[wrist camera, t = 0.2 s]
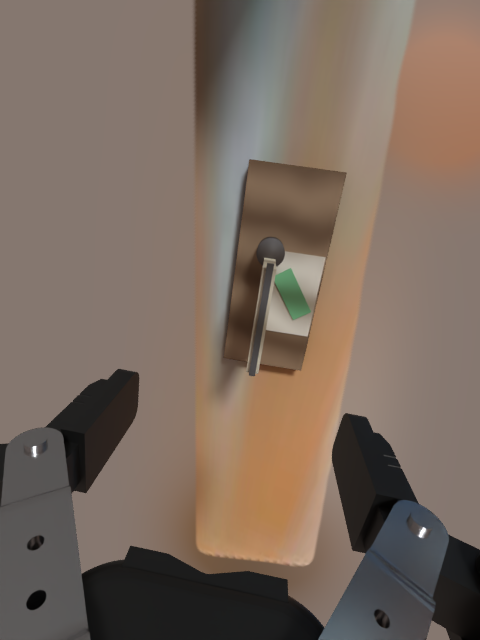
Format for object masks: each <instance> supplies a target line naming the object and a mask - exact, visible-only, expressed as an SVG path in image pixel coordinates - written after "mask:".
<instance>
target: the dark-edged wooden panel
mask: <svg viewBox="0 0 480 640" xmlns="http://www.w3.org/2000/svg"><path fill="white" fill-rule="evenodd" d="M256 256H257V259H258V261H259V263H260V264H261V265H263V267H262V274H261V280H260V286H259V292H258V298H257V305H256V311H255V317H254V323H253V330H252V336H251V342H250V349H249V356H248V363H247V369H246V372H249V375H250V376H255V373H256V374H258V371H259V366H260V360H261V354H262V349H263V343H264V337H265V332H266V326H267V320H268V315H269V309H270V303H271V298H272V292H273V286H274V281H275V275H276V266H278V265H280V264H281V263H282V261H283V260H284V257H285V250H284V246H283V244H282V242H281V241H280V240H279V239H278V238H276V237H266V238H264V239H263V240H261V242H260V243H259V245H258V248H257V252H256Z"/></svg>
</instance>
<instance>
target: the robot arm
mask: <svg viewBox="0 0 480 640" xmlns="http://www.w3.org/2000/svg"><path fill="white" fill-rule="evenodd" d="M138 391H139V374H138V373H137V372H132V371H127V370H122V369H118V370H116V371H115V372H114V373H113V375H112V376H111V377H110V378H109V379H108V380H104V379H100V380H98V381H96V382H94V383H92V384H90V385H88V387H87V388H85V389H84V390H83V391H82V392H81V393H80V395H78V396H77V397H76V398H75V399H74V400H73V402H71V403H70V404H69V405H68V406H67V407H66V408H65V409H64V410H63V411H62V412H61V413H60V414H59V415H58V416H56V417H55V418H54V419H53V420H52V421H51V423H49V424H48V425H47V426H46V427H44V428H36V429H32V430H29V431H26V432H23V433H21V434H20V435H18V436H16V437H15V438H14V439H13V440H12V441H11V442H10V443H9V444H0V640H426V639H427V635H428V632H429V628H430V624H431V621H434V622H436V623H437V624H439V625H441V626H443V627H444V628H446V630H447V633H448V635H449V638H450V640H480V550H479V549H477V548H475V547H473V546H471V545H469V544H467V543H464V542H462V541H460V540H458V539H456V538H454V537H452V536H450V535H448V533H447V530H446V528H445V526H444V525H443V523H442V522H441V521H440V520H439V518H438V517H436V516H435V515H434V514H433V513H432V512H431V511H430V510H428V509H427V508H425V507H424V506H422V505H420V504H419V503H418V501H417V499H416V497H415V495H414V493H413V491H412V489H411V487H410V485H409V483H408V481H407V479H406V477H405V475H404V472H403V471H402V469H400V464H399V462H398V460H397V459H396V456H395V455H394V452H393V450H392V448H391V446H390V444H389V443H388V442H387V441H386V440H385V439H384V438H383V437H382V436H381V435H380V434H379V433H373V430H372V428H371V426H370V423H369V421H368V419H367V418H366V417H362V416H358V415H352V414H347V413H346V414H344V416H343V418H342V421H341V424H340V427H339V430H338V433H337V436H336V439H335V442H334V445H333V449H332V463H333V467H334V471H335V476H336V480H337V485H338V489H339V494H340V498H341V502H342V507H343V511H344V515H345V520H346V524H347V529H348V533H349V538H350V542H351V546H352V550H353V551H358V552H362V553H366V554H365V556H364V558H363V560H362V561H361V563H360V565H359V567H358V569H357V570H356V572H355V574H354V576H353V578H352V579H351V581H350V583H349V585H348V587H347V589H346V590H345V592H344V594H343V596H342V598H341V599H340V601H339V603H338V605H337V606H336V608H335V610H334V612H333V614H332V615H331V617H330V619H329V621H328V623H327V624H326V626H325V628H324V627H323V625H322V624H321V623H320V622H319V620H318V619H317V618H316V617H315V616H314V615H313V614H312V613H311V612H310V611H309V610H308V609H307V608H305V607H304V606H303V605H302V604H300V603H299V602H297V601H296V600H295V599H293V598H291V597H290V596H288V584H287V583H288V582H287V579H282V578H277V577H273V576H268V575H263V574H259V573H254V572H250V571H244V572H232V573H219V574H205V573H202V572H200V571H198V570H197V569H195V568H193V567H191V566H189V565H188V564H186V563H184V562H182V561H180V560H178V559H177V558H175V557H173V556H171V555H169V554H167V553H161V552H157V551H153V550H148V549H143V548H138V547H134V546H130V548H129V551H128V553H127V555H126V557H125V560H118V561H113V562H108V563H105V564H102V565H99V566H97V567H94V568H92V569H90V570H88V571H86V572H84V573H83V574H81V567H80V558H79V550H78V542H77V534H76V527H75V519H74V510H73V502H72V495H71V494H72V492H73V491H79V492H84V493H87V491H88V490H89V488H90V487H91V485H92V483H93V482H94V480H95V479H96V477H97V476H98V474H99V473H100V471H101V470H102V468H103V467H104V465H105V463H106V462H107V461H108V459H109V457H110V456H111V454H112V453H113V451H114V450H115V448H116V447H117V445H118V444H119V442H120V441H121V439H122V438H123V436H124V435H125V433H126V431H127V430H128V428H129V427H130V425H131V424H132V422H133V420H134V418H135V416H136V412H137V407H138Z"/></svg>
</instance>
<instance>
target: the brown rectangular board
mask: <svg viewBox="0 0 480 640" xmlns="http://www.w3.org/2000/svg"><path fill="white" fill-rule="evenodd" d="M345 178H346V173H345V172H338V171H330V170H323V169H316V168H309V167H301V166H294V165H287V164H280V163H272V162H265V161H258V160H251V159H250V160H249V167H248V175H247V183H246V190H245V198H244V206H243V213H242V221H241V229H240V236H239V244H238V252H237V259H236V267H235V275H234V282H233V290H232V298H231V305H230V313H229V321H228V328H227V336H226V344H225V351H224V358H227V359H233V360H239V361H245V362H248V356H249V349H250V342H251V336H252V330H253V323H254V317H255V311H256V305H257V298H258V292H259V286H260V280H261V274H262V267H263V265H261V264H260V263H259V261H258V259H257V256H256V252H257V248H258V245H259V243H260V242H261V240H263V239H264V238H266V237H276V238H278V239H279V240H280V241H281V242H282V244H283V246H284V250H285V257H284V260H283V261H282V263H281V264H280V265H278V266H276V275H275V281H274V286H273V292H272V298H271V303H270V309H269V315H268V320H267V326H266V332H265V337H264V343H263V349H262V354H261V360H260V364H263V365H270V366H276V367H282V368H288V369H294V370H300V371H301V369H302V364H303V360H304V356H305V351H306V347H307V343H308V338H309V334H310V330H311V325H312V321H313V317H314V312H315V308H316V304H317V299H318V295H319V291H320V286H321V282H322V278H323V273H324V269H325V265H326V260H327V256H328V252H329V247H330V243H331V239H332V234H333V230H334V225H335V221H336V217H337V212H338V208H339V204H340V199H341V195H342V191H343V186H344V182H345Z"/></svg>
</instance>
